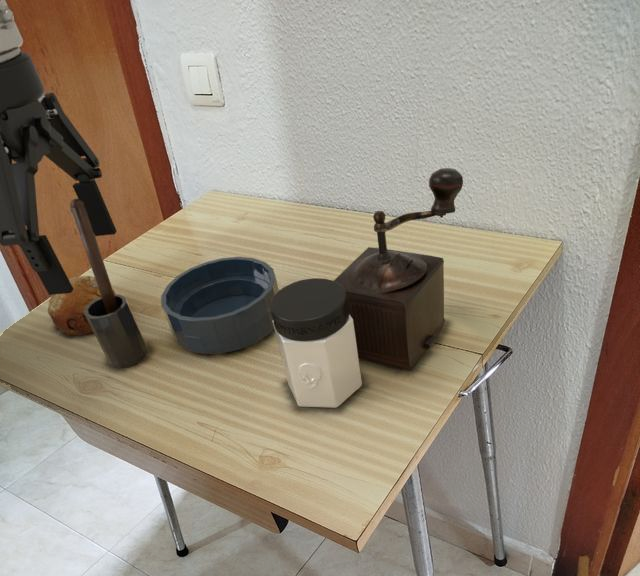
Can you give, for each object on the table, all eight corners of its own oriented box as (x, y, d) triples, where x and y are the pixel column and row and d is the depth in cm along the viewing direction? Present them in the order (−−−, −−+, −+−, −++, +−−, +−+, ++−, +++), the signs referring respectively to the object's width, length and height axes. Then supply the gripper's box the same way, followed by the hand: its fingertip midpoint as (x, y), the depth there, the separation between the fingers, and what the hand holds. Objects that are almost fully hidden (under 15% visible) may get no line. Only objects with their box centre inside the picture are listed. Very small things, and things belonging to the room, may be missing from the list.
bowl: (161, 361, 78) (145, 324, 74) (192, 297, 89) (179, 261, 85) (273, 355, 75) (263, 316, 71) (291, 290, 86) (283, 252, 82)
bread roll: (122, 315, 95) (97, 268, 92) (132, 315, 86) (104, 262, 83) (64, 342, 92) (36, 294, 89) (67, 344, 83) (36, 291, 80)
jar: (279, 408, 68) (256, 321, 59) (296, 363, 73) (276, 278, 65) (356, 410, 65) (342, 321, 57) (367, 364, 71) (356, 276, 63)
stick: (119, 355, 79) (65, 201, 68) (124, 349, 81) (72, 198, 70) (130, 354, 79) (77, 199, 68) (135, 349, 80) (84, 196, 69)
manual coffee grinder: (414, 374, 68) (406, 228, 56) (334, 353, 74) (310, 215, 61) (467, 303, 77) (471, 163, 64) (392, 288, 82) (382, 156, 70)
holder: (103, 369, 79) (77, 319, 73) (117, 344, 83) (94, 295, 77) (140, 367, 78) (117, 317, 72) (153, 342, 82) (132, 292, 76)
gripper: (-52, 94, 46) (70, 319, 61) (76, 22, 64) (147, 210, 78) (-131, 107, 48) (7, 324, 62) (15, 33, 65) (96, 216, 80)
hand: (85, 261), depth 70 cm, fingers open, 13 cm apart
